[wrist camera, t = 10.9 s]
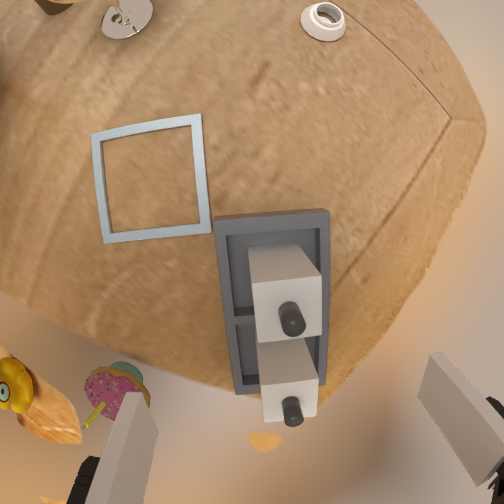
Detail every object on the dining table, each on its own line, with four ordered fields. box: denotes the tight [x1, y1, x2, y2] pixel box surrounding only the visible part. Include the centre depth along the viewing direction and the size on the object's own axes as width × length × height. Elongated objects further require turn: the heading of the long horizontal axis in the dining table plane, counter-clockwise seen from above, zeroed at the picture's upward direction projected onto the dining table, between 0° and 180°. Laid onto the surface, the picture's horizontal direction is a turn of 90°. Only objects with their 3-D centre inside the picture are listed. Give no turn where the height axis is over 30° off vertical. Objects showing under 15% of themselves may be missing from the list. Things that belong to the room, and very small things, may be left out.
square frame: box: [91, 114, 212, 244], centre depth 29 cm, size 12×12×1 cm
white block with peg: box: [248, 242, 322, 343], centre depth 25 cm, size 5×5×12 cm
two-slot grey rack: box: [213, 208, 330, 395], centre depth 32 cm, size 11×21×2 cm, turn 4°
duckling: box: [0, 357, 34, 413], centre depth 30 cm, size 11×5×10 cm, turn 5°
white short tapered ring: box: [300, 2, 346, 42], centre depth 24 cm, size 5×3×5 cm
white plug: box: [255, 328, 319, 427], centre depth 28 cm, size 5×5×12 cm
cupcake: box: [81, 362, 150, 429], centre depth 29 cm, size 9×8×12 cm
